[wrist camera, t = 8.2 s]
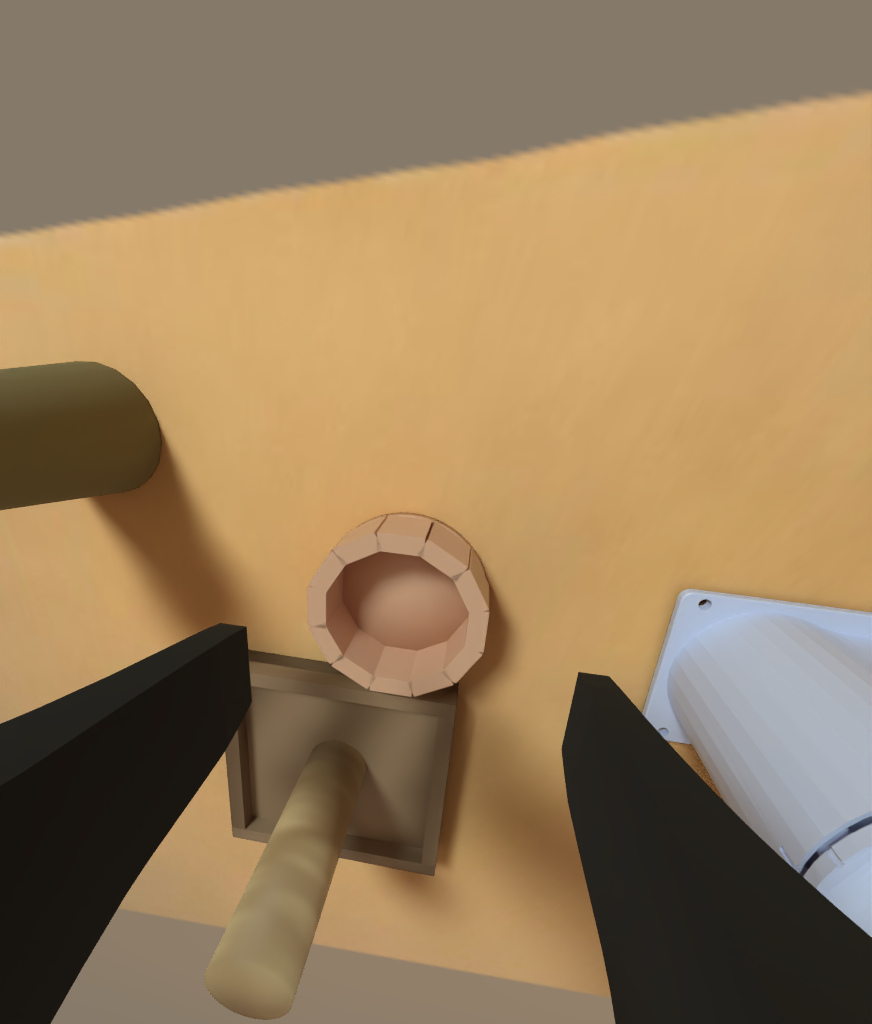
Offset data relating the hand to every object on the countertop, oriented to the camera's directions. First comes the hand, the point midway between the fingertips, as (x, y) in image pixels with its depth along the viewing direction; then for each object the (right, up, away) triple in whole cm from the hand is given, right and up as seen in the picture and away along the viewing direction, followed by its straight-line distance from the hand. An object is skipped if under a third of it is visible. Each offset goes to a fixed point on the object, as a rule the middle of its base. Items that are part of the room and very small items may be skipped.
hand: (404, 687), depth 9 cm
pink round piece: (-1, 0, +11) cm, 11 cm away
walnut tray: (-5, -10, +15) cm, 18 cm away
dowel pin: (-5, -10, +14) cm, 18 cm away
